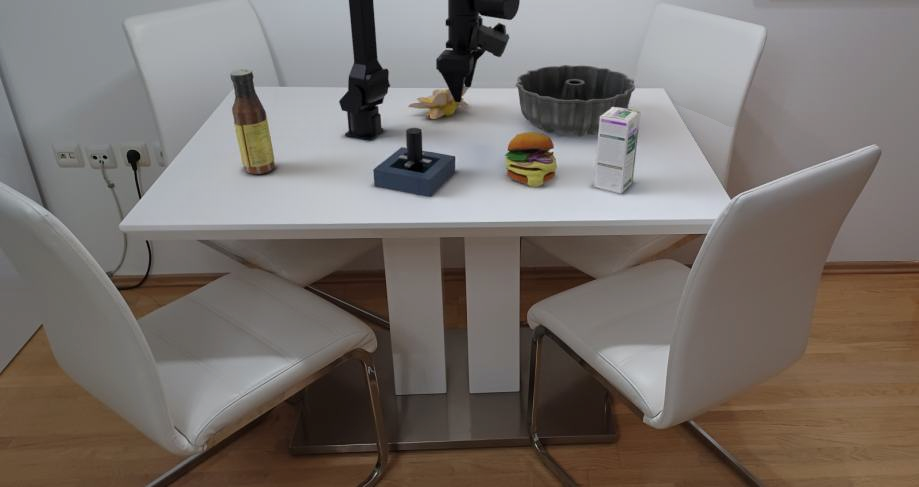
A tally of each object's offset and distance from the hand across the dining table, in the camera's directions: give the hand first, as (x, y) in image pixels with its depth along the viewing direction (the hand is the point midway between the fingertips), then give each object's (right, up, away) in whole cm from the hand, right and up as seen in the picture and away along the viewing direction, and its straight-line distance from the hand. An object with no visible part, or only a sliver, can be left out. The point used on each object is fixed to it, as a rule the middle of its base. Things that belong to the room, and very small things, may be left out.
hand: (463, 94), depth 140 cm
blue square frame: (-9, -17, -1) cm, 19 cm away
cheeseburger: (+13, -16, +1) cm, 21 cm away
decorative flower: (-4, +2, +31) cm, 32 cm away
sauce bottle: (-41, -14, +4) cm, 44 cm away
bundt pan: (+25, -2, +25) cm, 36 cm away
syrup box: (+29, -18, -3) cm, 34 cm away
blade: (-9, -17, -1) cm, 19 cm away
